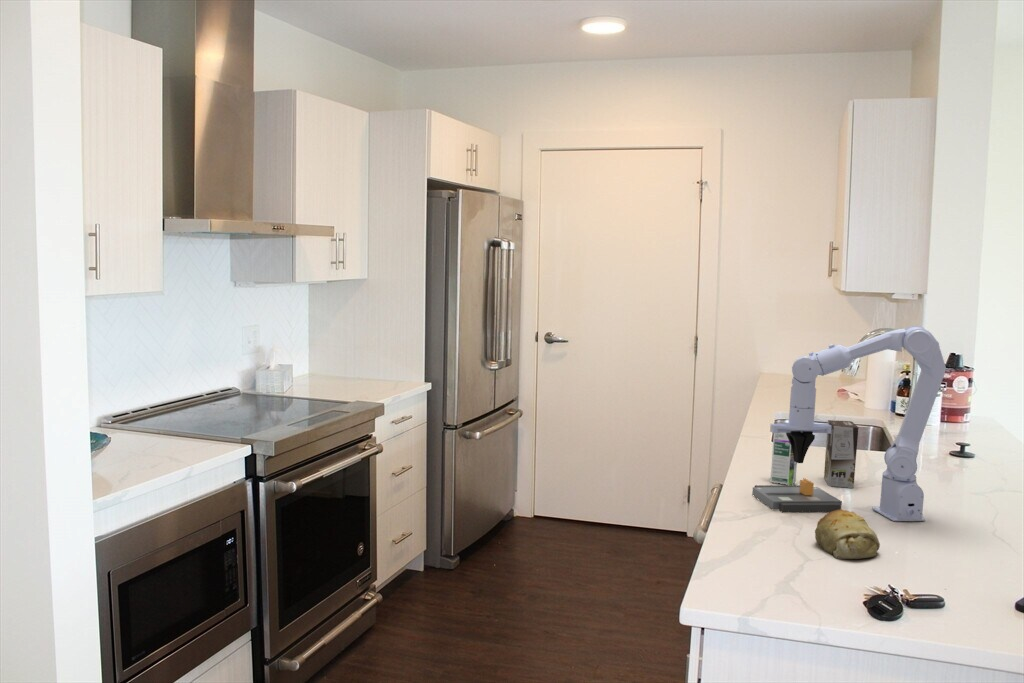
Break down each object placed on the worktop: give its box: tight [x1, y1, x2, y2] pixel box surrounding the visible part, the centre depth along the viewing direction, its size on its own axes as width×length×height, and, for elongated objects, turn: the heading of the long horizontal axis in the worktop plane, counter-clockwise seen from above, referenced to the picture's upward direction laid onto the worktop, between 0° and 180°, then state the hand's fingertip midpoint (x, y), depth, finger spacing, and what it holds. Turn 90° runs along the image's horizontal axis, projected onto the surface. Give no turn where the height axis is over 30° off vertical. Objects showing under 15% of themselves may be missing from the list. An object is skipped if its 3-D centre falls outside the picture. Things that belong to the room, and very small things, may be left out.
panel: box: [751, 486, 843, 511], centre depth 207 cm, size 12×17×2 cm
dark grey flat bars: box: [754, 484, 840, 513], centre depth 207 cm, size 16×14×2 cm
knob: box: [799, 477, 815, 495], centre depth 207 cm, size 3×2×3 cm, turn 7°
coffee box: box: [823, 419, 860, 489], centre depth 226 cm, size 9×6×16 cm
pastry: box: [814, 508, 881, 560], centre depth 174 cm, size 14×12×8 cm
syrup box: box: [769, 433, 798, 485], centre depth 225 cm, size 6×6×14 cm
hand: (798, 462), depth 206 cm, fingers closed
